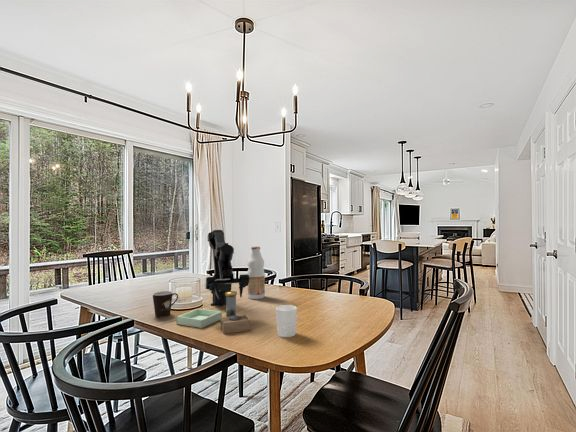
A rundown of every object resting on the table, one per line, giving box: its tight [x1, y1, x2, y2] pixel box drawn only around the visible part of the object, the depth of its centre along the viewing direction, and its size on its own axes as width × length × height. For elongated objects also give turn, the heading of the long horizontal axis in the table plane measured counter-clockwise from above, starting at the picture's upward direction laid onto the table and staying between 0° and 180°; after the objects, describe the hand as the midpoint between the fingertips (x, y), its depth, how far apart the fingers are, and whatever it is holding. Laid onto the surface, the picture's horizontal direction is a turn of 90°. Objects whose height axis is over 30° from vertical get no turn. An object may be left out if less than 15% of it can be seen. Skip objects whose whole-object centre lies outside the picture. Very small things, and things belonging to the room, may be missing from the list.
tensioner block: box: [220, 314, 250, 334], centre depth 131 cm, size 7×10×5 cm
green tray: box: [176, 308, 223, 329], centre depth 141 cm, size 13×13×3 cm
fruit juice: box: [247, 246, 266, 300], centre depth 183 cm, size 9×9×28 cm
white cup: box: [275, 304, 298, 338], centre depth 124 cm, size 8×8×10 cm
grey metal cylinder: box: [225, 290, 238, 317], centre depth 138 cm, size 5×5×13 cm
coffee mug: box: [152, 290, 179, 318], centre depth 152 cm, size 12×9×10 cm
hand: (230, 298), depth 139 cm, fingers open, 9 cm apart
